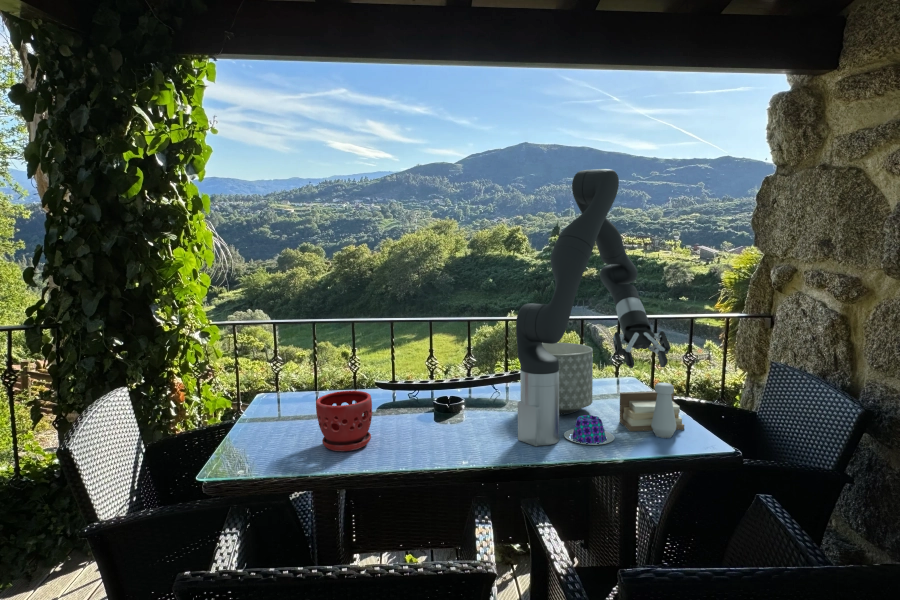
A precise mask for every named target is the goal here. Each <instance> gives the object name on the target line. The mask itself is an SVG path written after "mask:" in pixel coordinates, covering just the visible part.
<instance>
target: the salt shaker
mask: <svg viewBox="0 0 900 600" xmlns="http://www.w3.org/2000/svg"><path fill="white" fill-rule="evenodd" d="M674 390H675V388H674V385H673V384H672V383H668V382H657V383H656V384H655V386H654V392H656V393H658V394H657V399H656V404H655V410H654V414H653V419H652V423H651V427H652V429H653V431H652V432H654V433H653V434H654V435H655V437H658V438H662V439H671V438H672V437H673V435H674V434H675V432H676V431H677V430H676V421H675V415H674V409H673V403H672V397H671V394H673V392H674Z"/></svg>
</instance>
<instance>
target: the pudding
mask: <svg viewBox="0 0 900 600" xmlns="http://www.w3.org/2000/svg"><path fill="white" fill-rule="evenodd" d="M575 420H576V421H575V424H574V428H571V429H569V430H566V431H565V432H564V434H563V436H564V438H565V439H567V440H568V441H571V442H574V443H577V444H581V445H591V446H592V445H593V446H594V445H596V446H597V445H605V444H609V443H611V442H613V441H614V440H615V436H614V434H612V433H611V432H609V431H606V430H605V427H604V425H603V424H604V423H603V421H602V419H601V418H600V417H599V416H595V415H591V414H590V415H586V414H585V415H584V414H583V415H579V416H578V417H577V418H576V419H575ZM570 434H573V435H572V437H573V438H572V439H573V440H574V439H576V440H575V441H573V440H572V439H570V438H569V436H570ZM606 437H607V441H606ZM576 441H579V442H576ZM603 441H604V442H603ZM605 441H606V442H605ZM580 442H581V443H580ZM582 442H585V443H582ZM586 442H587V443H588V444H586ZM596 442H599V444H597V443H596ZM600 442H603V443H600ZM590 443H594V444H590Z"/></svg>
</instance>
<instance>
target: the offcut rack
mask: <svg viewBox="0 0 900 600" xmlns="http://www.w3.org/2000/svg"><path fill="white" fill-rule="evenodd" d="M657 394H658V393H656V392H655V391H629V392H626V391H625V392H621V391H620V392H619V423H620V424H621V425H622V426H624V427H625V428H626V429H627V430H628V431H630V432H648V431H652V432H654V431H653V429H652V427H651V423H652V419H653V414H654V410H655V404H656V399H657ZM674 394H675V393H674V392H673V394H671V397H672V403H673V409H674V415H675V421H676V430H675V431H679V430H683V429H684V430H685V424H684V423H683V418H682V417H681V416H679V415H680V411H681V410H680V408H681V407H680V405H678V404H677V403H676V402H675V401H674V397H675V396H674ZM684 430H683V431H684Z"/></svg>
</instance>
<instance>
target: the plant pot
mask: <svg viewBox="0 0 900 600" xmlns="http://www.w3.org/2000/svg"><path fill="white" fill-rule="evenodd" d="M353 402H355V403H353ZM344 403H346V404H345V405H343V404H344ZM315 410H316V419H317V421H318V422H317V423H318V427H319V429H320V432H321V434H322V435H323V437H322V444H323V446H324V447H326V448H327V449H329V450H331V451H334V452H348V451H349V452H350V451H357V450H358V449H361V448H363V447H364V446H365V447H366V445H367V444H369V442H370V441H371V439H372V434H371V432H369V430H370V427H371V424H372V418H373V400H372V396H371V394H370V393H369V392H367V391H366V392H365V391H362V390H342V391H334V392H330V393H327V394H325V395H324V394H323V395H322V396H320V397H318V398H317V399H316V401H315Z"/></svg>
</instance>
